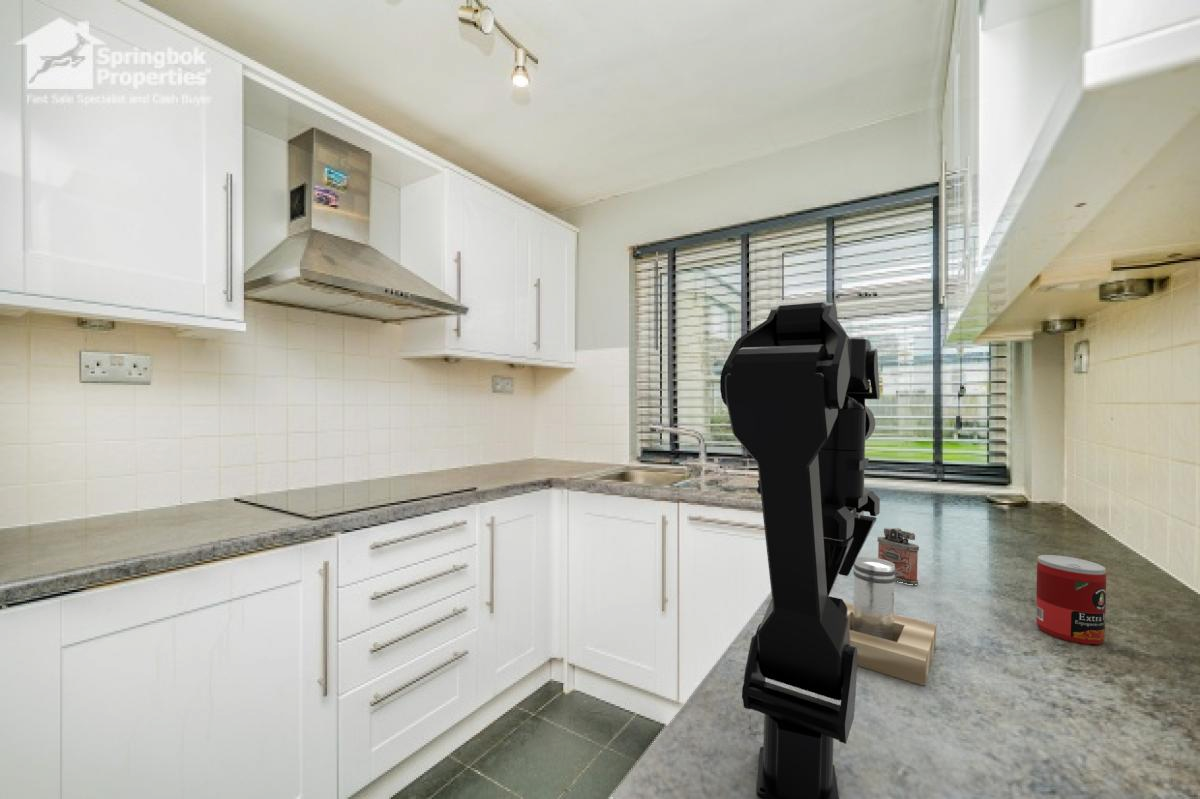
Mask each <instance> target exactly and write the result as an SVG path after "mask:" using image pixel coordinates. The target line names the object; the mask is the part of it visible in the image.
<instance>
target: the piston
mask: <svg viewBox="0 0 1200 799" xmlns="http://www.w3.org/2000/svg"><path fill="white" fill-rule="evenodd" d="M853 568H854V569H853V572H852V573H853V603H852V604H853V631H856V632H860V633H864V634H868V635H871V636H875V637H879V638H883V639H886V640H890V641H893V626H894V614H895V583H896V582H895V574H896V569H895V564H894V563H892V562H890V561H887V560H883V559H879V558H878V557H871V556H858V557H857V559H856V561H855V563H854V565H853Z"/></svg>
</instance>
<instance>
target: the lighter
mask: <svg viewBox="0 0 1200 799" xmlns="http://www.w3.org/2000/svg"><path fill="white" fill-rule="evenodd" d="M883 534H884V536H877V543H878V544H877V545H878V547H877V548H878V550H877V553H878V554H877V558H879V559H883V560H887V561H890V562H892V563H894V564H895V569H896V574H895V581H898V582H903V583H907V584H913V585H915V584H918V585H919V579H918V559H919V558H918V557H919V555H918V554H919V550H920V547H919V545H918V544H915V543H911V542H909V540H910V541H915V540H916V534H915V533H914V532H911V531H908V530H907V531H906V530H902V529H901V528H899V527H895V528H893V527H892V528H891V527H884V528H883ZM898 582H897V583H898Z"/></svg>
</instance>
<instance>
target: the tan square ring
mask: <svg viewBox="0 0 1200 799" xmlns="http://www.w3.org/2000/svg"><path fill="white" fill-rule="evenodd" d="M844 603H845V605H846V606H847V617H848V623H849V633H850V646H853V647H857V653H858V664H857V667H861V668H863V669H869V670H871V671H874V672H878V673H880V674H885V675H887V676H891V677H894V678H896V679H897V678H898V679H901V680H905V681H906V682H910V683H914V684H917V685H921V686H924V687H926V684H927V681H928V676H929V673H930V669H931V665H932V662H933V659H934V654H935V652H936V648H937V628H938V627H937V626H938V625H937V624H935V623H933V622H928V621H923V620H919V619H915V618H911V617H907V616H903V615H899V614H895V613H894V626H893V641H890V640H886V639H883V638H879V637H875V636H871V635H868V634H864V633H860V632H856V631H853V603H848V602H844Z"/></svg>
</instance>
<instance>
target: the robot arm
mask: <svg viewBox="0 0 1200 799" xmlns="http://www.w3.org/2000/svg"><path fill="white" fill-rule="evenodd" d="M878 356H879V355H878V349H877V348H872V344H871V341H870V340H869V339H868V338H865V337H858V336H857V337H856V336H855V337H852V336H849V335H848V334H847V332H846V331H845V329H844V328H843V326H842V325H841V323H840V322H839V320H838V311H837V305H836V303H835V302H828V301H826V300H823V299H822V300H814V301H813V300H811V301H800V302H786V303H781V304H780V305H779V306H774V307H772V308H771V310H770V312H769V314H768V315H767V318H766V320H764V321H763V322H761V323H759V325H757V326H755V327H754V328H752V329H750V330H749V331H748V332H747V333H745V334H743V335H742V336H740V337H739V338H738V339H737V340H736V341H735V342H734V345H733V347H732V348H731V351H730V353H729V355H728V357H727V358H726V361H725V363H724V364H723V367H722V370H721V373H720V379H719V380H720V381H719V384H720V386H719V387H720V388H719V389H720V395H721V401H722V402H723V404H724V405H725V406H726V407H727V412H728V418H729V421H730V427H731V431H732V434H733V435H734V437H735V438H736V439H737V440H738V442H739V443H740V444H741V446H743V448H745V450H746V451H747V452H748V453H749V455H750V456H751V457H752V458H753V460H754V461H755V462H756V465H757V471H758V480H757V485H758V487H757V489H756V492H757V494H759V495H760V498H761V499H760V500H761V507H762V518H763V525H764V526H763V527H764V535H765V545H766V547H765V548H766V555H767V563H768V574H769V583H770V592H771V599H770V601H769V604H768V606H767V608H766V611H765V613H764V615H763V618H762V620H761V622H760V623H759V624H758V627H757V629H756V632H755V634H753V636H752V637H751V640H750V644H749V649H748V654H747V655H748V656H747V658H746V659H747V660H746V664H745V668H744V669H745V670H744V674H743V685H742V689H741V699H742V704H743V709H745V710H753V711H755V712H758V713H761V714H764V715H763V716H764V717H763V745H762V746H760V748H759V753H758V767H757V777H756V796H757V797H758V798H760V799H840V797H839V791H838V790H839V789H838V782H837V776H836V768H835V765H834V740H837V741H838V742H840V743H842V744H845V745H846V744H847V742H848V739H849V736H850V731H851V729H852V725H853V722H854V718H855V708H856V707H855V706H856V696H857V695H856V692H857V678H858V675H857V674H858V666H857V664H858V653H857V647H853V646H850V633H849V623H848V617H847V606H846V605H845V603H846V602H844V600H843V598H839V597H833V596H829V595H830V594H831V592H832V589H833V588H834V584H835V583H836V580H837V578H838V575H840V576H844V577H847V576H849V575H850V574H851V571H852V569H853V568H854V563H855V561H856V559H857V557H859V555H860V553H861V550H862V549H863V547H864V545H865V543H866V541H867V538H868V536H869V534H870V533H871V531H872V529H873V527H874V525H875V523H876V522H877V516H878V515H880V513H881V512H880V506H881V504H880V503H881V501H880V500H881V499H880V497H879V496H878V495H877V494H876V493H875V492H874V491H873V490H870V489H865V469H868V468H869V460H870V459H869V458H868V457H865V454H866V441H867V440H868V439H869V438H871V436H872V435H873V433H874V431H875V428H876V418H875V415H874V414H873V412H872V410H871V409H870V408H869V407H868V406H867V405H866V400H880V398H881V396H880V395H881V394H880V376H879V358H878ZM870 388H871V390H870ZM864 512H865V513H869V515H865V513H864ZM766 679H768V680H771V681H775V682H778V683H781V684H784V685H787V686H790V687H794V688H798V689H800V690H802V691H805V692H806V691H807V692H810V693H812V694H815V695H819V696H823V697H826V698H828V699H832V700H836V701H840V704H837V703H834V702H830V701H827V700H824V699H821V698H818V697H815V696H812V695H809V694H805V693H804V692H803V693H802V692H799V691H797V690H793V689H789V688H786V687H783V686H780V685H777V684H774V683H771V682H768V681H766Z"/></svg>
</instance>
